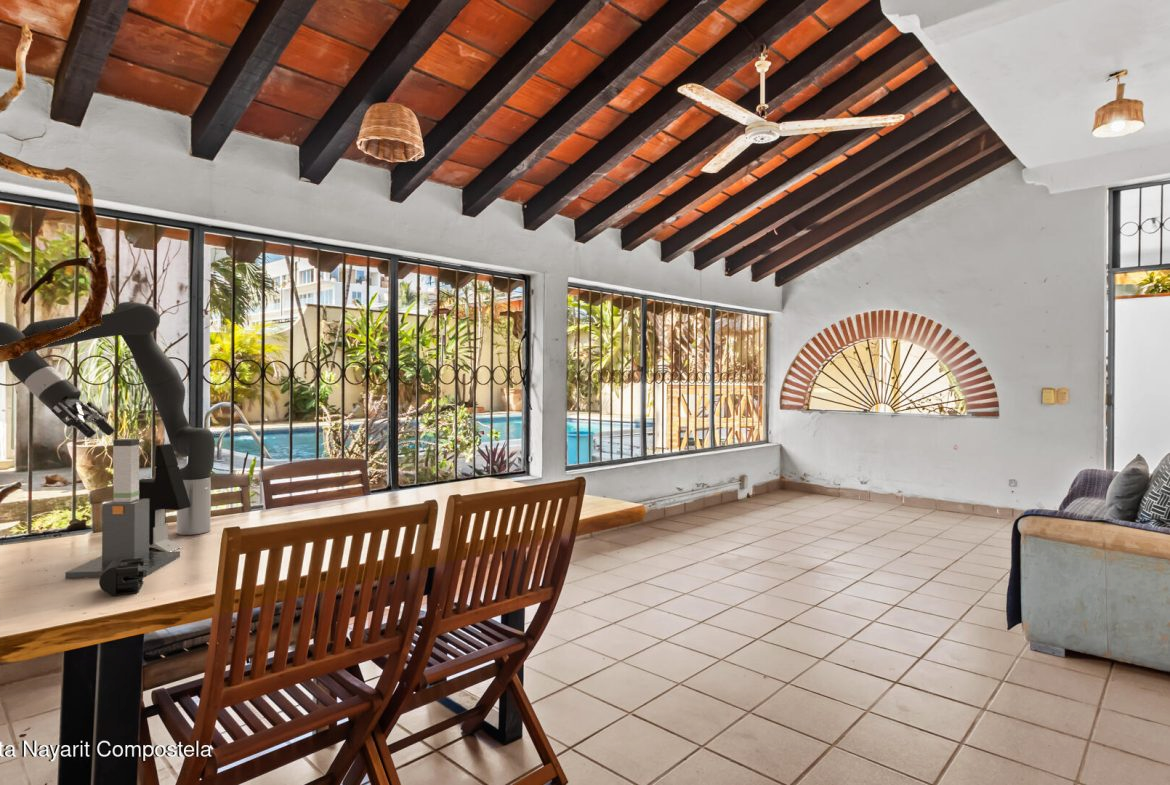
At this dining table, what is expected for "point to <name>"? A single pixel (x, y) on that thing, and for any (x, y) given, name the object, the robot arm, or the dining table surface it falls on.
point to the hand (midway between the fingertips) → (102, 434)
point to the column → (126, 470)
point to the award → (163, 496)
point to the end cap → (122, 577)
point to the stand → (124, 540)
